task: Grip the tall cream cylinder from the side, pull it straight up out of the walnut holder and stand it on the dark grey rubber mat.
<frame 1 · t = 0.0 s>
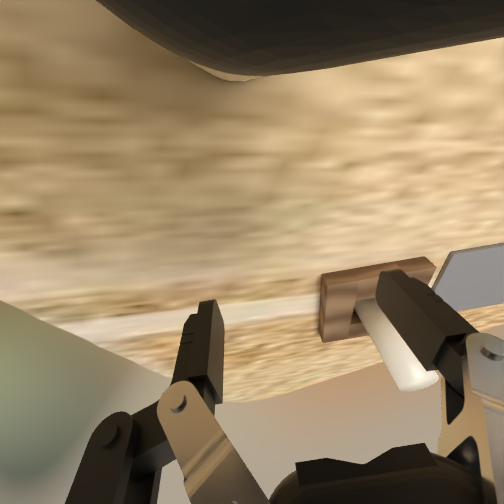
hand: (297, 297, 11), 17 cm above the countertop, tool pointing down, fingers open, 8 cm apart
walnut holder: (364, 298, 39), on the countertop
cream cylinder: (387, 334, 34), in the walnut holder
grey mat: (478, 279, 39), on the countertop
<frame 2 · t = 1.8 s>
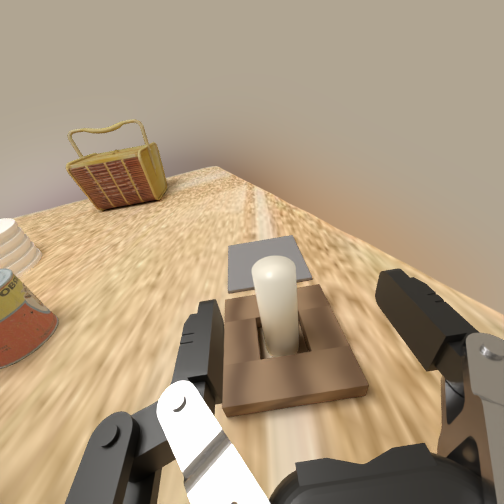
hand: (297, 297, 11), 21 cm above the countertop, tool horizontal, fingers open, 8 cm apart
walnut holder: (282, 343, 32), on the countertop
picnic basket: (137, 200, 101), on the countertop
canned food: (23, 339, 40), on the countertop
cream cylinder: (278, 311, 28), in the walnut holder
grey mat: (264, 261, 48), on the countertop
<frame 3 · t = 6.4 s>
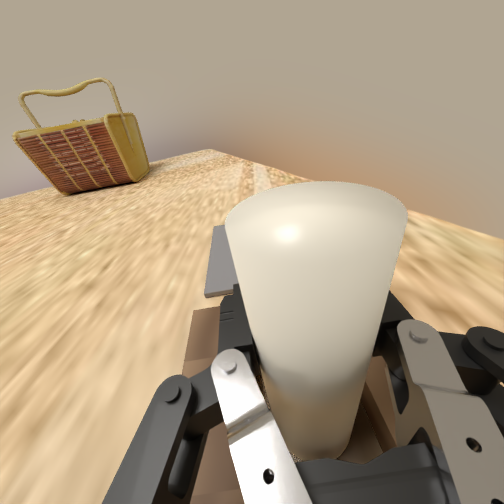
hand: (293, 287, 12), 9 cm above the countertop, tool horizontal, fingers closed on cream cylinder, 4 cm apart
walnut holder: (310, 412, 14), on the countertop
picnic basket: (112, 183, 84), on the countertop
cream cylinder: (309, 349, 10), in the walnut holder, touching gripper
grey mat: (267, 246, 31), on the countertop
when the fingers open (11 cm above the countertop, at t = 15.0 s): cream cylinder drops 2 cm, resting on grey mat.
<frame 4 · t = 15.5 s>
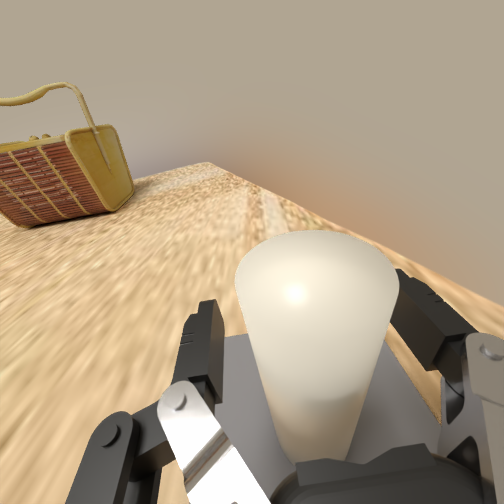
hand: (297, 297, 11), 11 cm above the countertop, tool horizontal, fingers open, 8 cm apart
picnic basket: (86, 210, 68), on the countertop
cream cylinder: (310, 376, 11), on the grey mat, point 8 cm above the countertop
grey mat: (310, 427, 15), on the countertop
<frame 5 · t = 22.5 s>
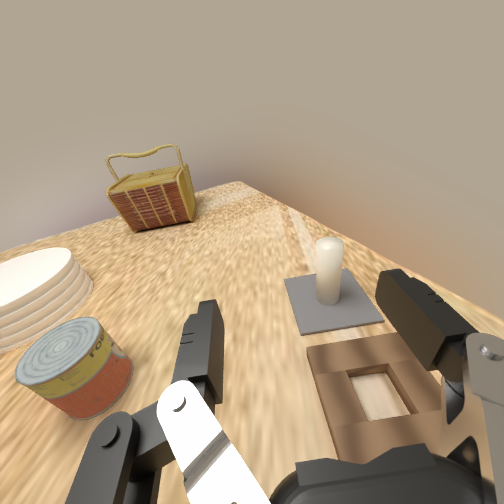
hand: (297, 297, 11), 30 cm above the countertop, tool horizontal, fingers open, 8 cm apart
walnut holder: (376, 397, 32), on the countertop
picnic basket: (168, 219, 102), on the countertop
canned food: (102, 384, 41), on the countertop
cream cylinder: (328, 272, 45), on the grey mat, point 8 cm above the countertop
plate stack: (39, 309, 63), on the countertop
grey mat: (327, 298, 49), on the countertop
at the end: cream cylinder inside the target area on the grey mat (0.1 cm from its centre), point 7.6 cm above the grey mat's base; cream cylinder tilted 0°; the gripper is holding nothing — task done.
